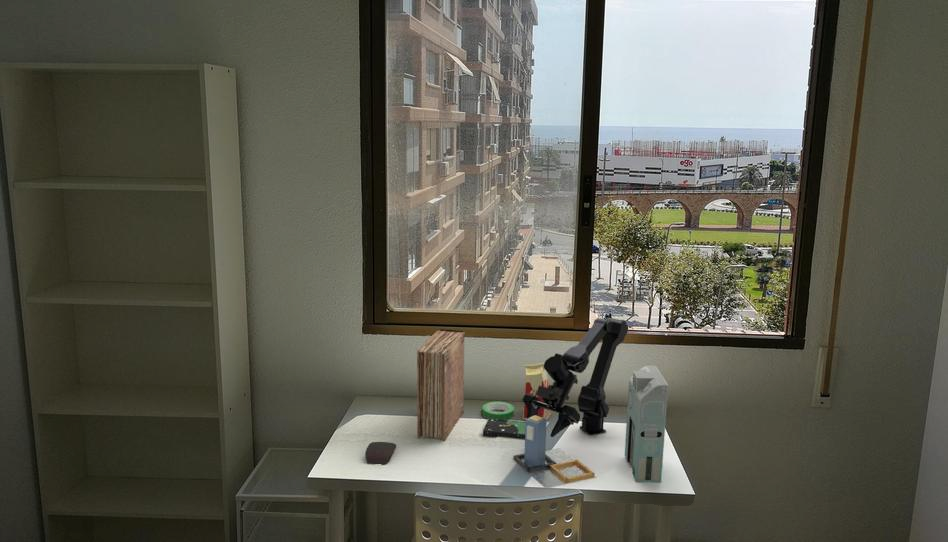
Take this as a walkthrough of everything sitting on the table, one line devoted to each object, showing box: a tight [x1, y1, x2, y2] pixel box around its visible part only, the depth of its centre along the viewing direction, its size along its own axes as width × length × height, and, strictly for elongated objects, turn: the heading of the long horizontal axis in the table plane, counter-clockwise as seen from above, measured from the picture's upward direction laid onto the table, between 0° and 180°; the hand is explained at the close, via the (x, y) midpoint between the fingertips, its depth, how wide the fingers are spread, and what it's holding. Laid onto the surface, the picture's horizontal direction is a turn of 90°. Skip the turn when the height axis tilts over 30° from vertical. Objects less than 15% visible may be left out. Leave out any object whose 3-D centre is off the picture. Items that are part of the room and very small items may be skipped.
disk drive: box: [482, 418, 526, 440], centre depth 259 cm, size 10×3×15 cm
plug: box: [524, 415, 548, 466], centre depth 235 cm, size 6×4×14 cm
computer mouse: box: [364, 441, 397, 466], centre depth 242 cm, size 8×14×4 cm, turn 174°
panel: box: [511, 448, 597, 489], centre depth 234 cm, size 17×21×2 cm
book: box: [416, 328, 465, 442], centre depth 261 cm, size 25×9×30 cm, turn 166°
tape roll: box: [482, 401, 515, 420], centre depth 274 cm, size 11×11×3 cm
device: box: [624, 365, 669, 483], centre depth 231 cm, size 16×8×30 cm, turn 0°
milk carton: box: [522, 362, 552, 421], centre depth 271 cm, size 9×9×20 cm
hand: (538, 432), depth 236 cm, fingers open, 9 cm apart
